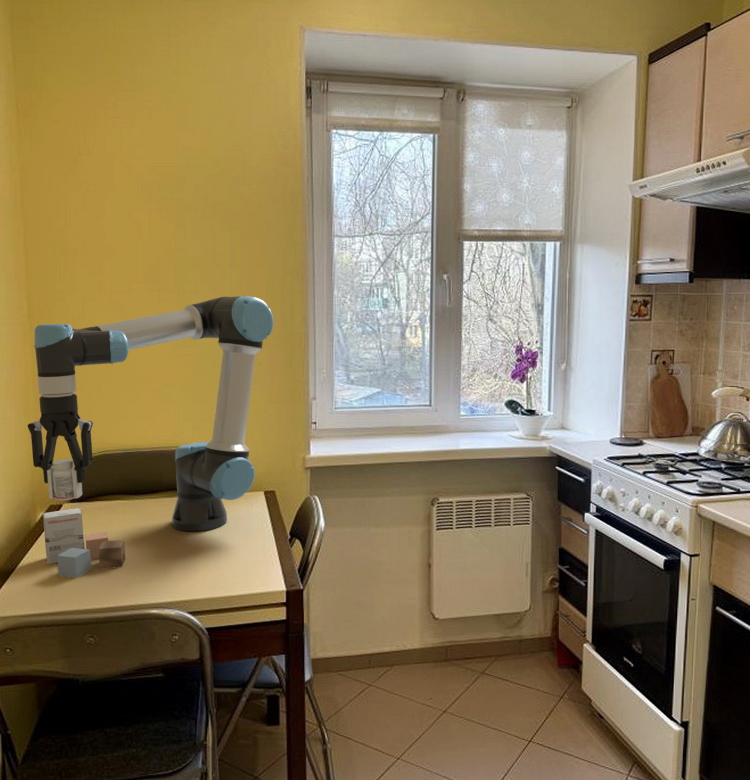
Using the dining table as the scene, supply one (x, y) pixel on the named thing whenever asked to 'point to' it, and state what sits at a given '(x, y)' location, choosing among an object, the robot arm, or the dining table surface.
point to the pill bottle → (63, 480)
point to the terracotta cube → (95, 543)
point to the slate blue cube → (74, 562)
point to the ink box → (62, 532)
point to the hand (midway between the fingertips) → (66, 496)
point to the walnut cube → (112, 554)
